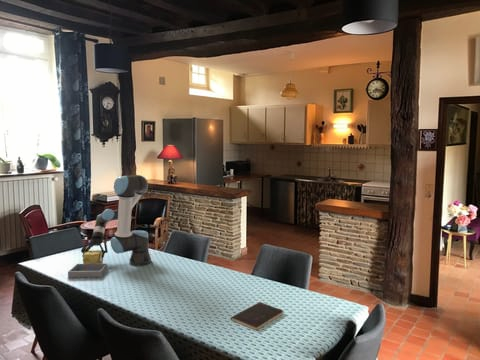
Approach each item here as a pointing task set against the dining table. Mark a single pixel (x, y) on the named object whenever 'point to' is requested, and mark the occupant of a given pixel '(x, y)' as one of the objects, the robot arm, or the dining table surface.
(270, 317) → the hardcover book
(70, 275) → the bin
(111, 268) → the dining table surface
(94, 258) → the cheese
